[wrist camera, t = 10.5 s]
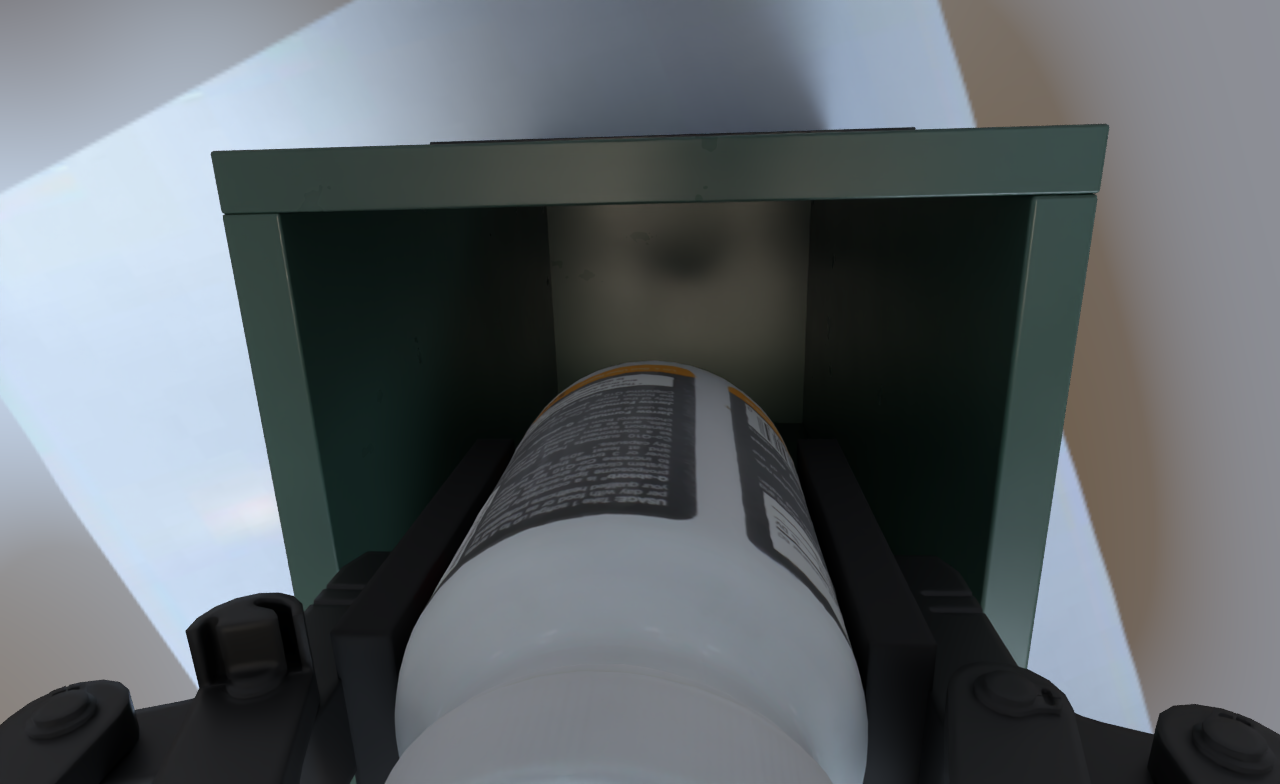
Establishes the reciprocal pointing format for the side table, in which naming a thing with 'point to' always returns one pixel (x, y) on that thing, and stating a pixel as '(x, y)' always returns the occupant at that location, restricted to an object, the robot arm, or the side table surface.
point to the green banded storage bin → (674, 315)
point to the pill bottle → (636, 607)
